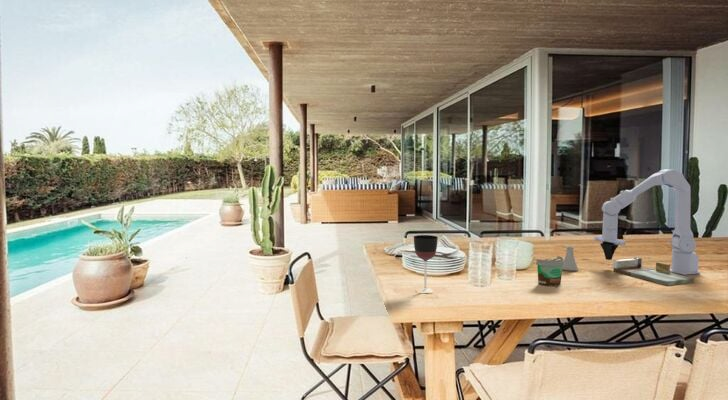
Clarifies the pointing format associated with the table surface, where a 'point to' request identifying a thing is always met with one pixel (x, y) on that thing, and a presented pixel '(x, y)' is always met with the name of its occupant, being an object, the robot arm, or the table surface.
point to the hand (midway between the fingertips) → (608, 259)
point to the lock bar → (627, 263)
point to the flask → (570, 260)
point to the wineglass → (425, 251)
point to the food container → (550, 271)
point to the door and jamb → (656, 274)
